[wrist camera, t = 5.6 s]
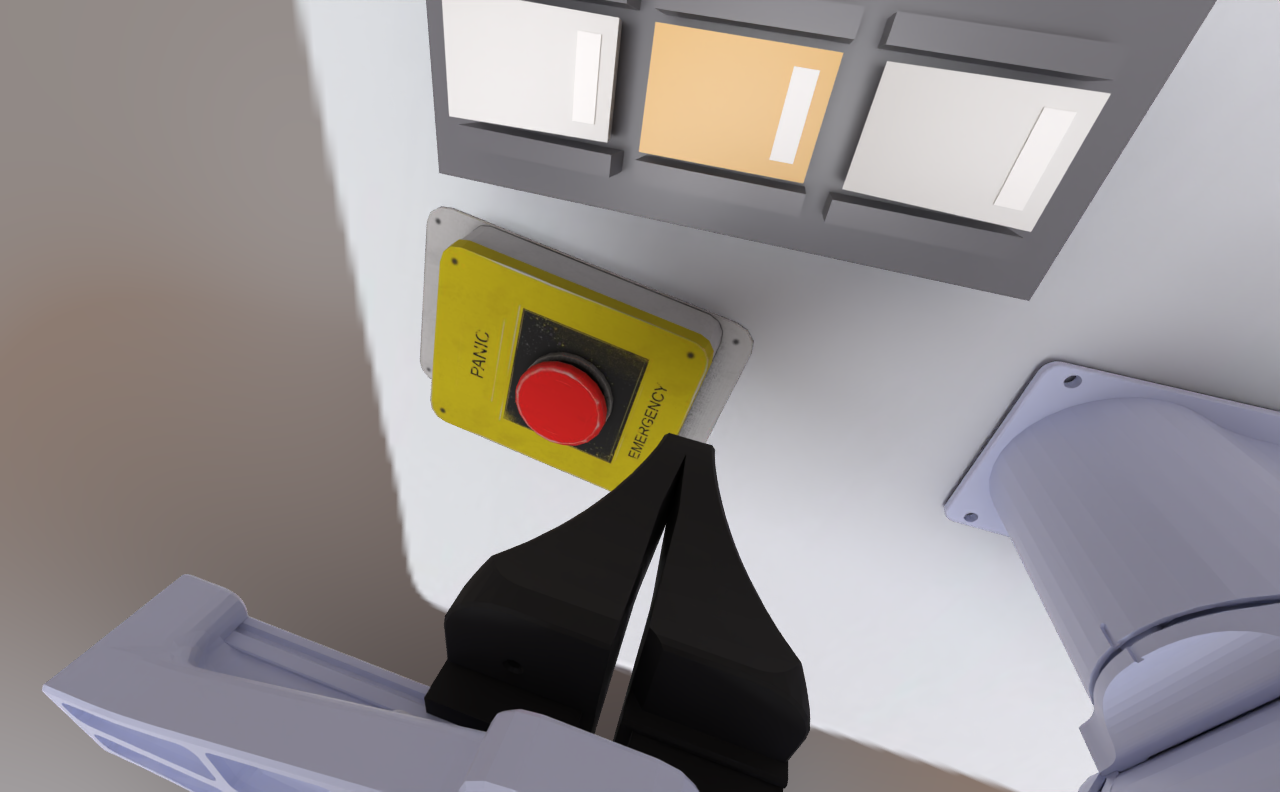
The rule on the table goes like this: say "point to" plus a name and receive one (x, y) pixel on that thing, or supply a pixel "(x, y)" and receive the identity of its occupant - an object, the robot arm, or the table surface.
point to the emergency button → (566, 352)
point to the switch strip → (847, 124)
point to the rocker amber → (736, 101)
